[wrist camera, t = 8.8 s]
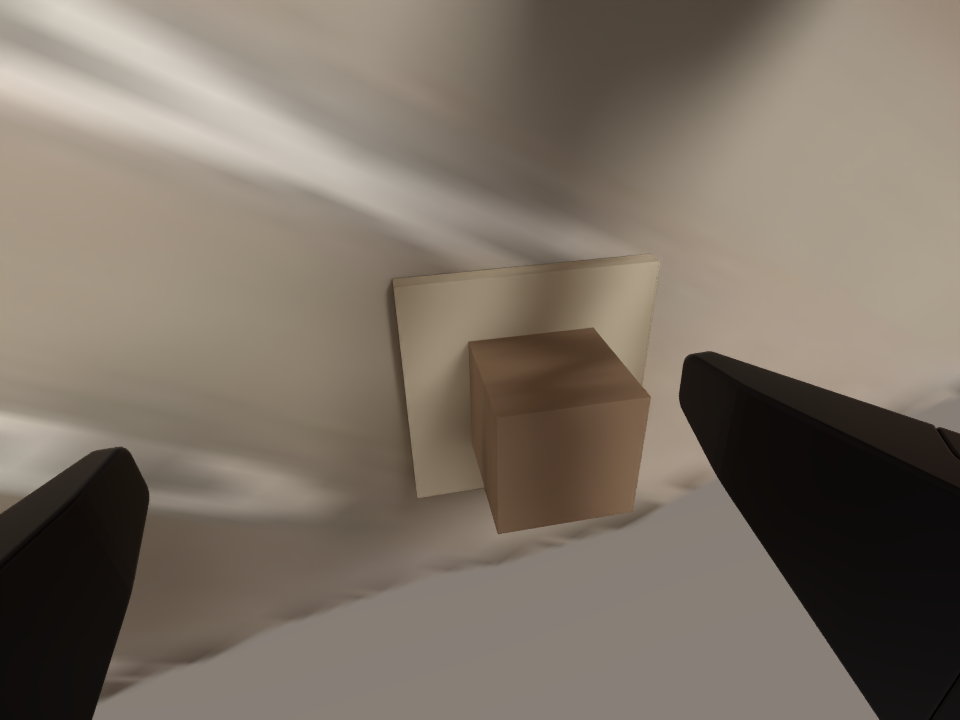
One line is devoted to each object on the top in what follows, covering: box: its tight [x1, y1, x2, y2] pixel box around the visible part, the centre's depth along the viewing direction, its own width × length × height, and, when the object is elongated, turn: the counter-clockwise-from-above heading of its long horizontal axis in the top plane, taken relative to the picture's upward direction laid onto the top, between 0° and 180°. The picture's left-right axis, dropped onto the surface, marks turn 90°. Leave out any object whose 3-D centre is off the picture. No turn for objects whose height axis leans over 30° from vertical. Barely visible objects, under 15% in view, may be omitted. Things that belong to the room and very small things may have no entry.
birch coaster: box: [392, 254, 660, 498], centre depth 23 cm, size 10×10×1 cm
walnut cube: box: [468, 327, 651, 534], centre depth 21 cm, size 5×5×5 cm
